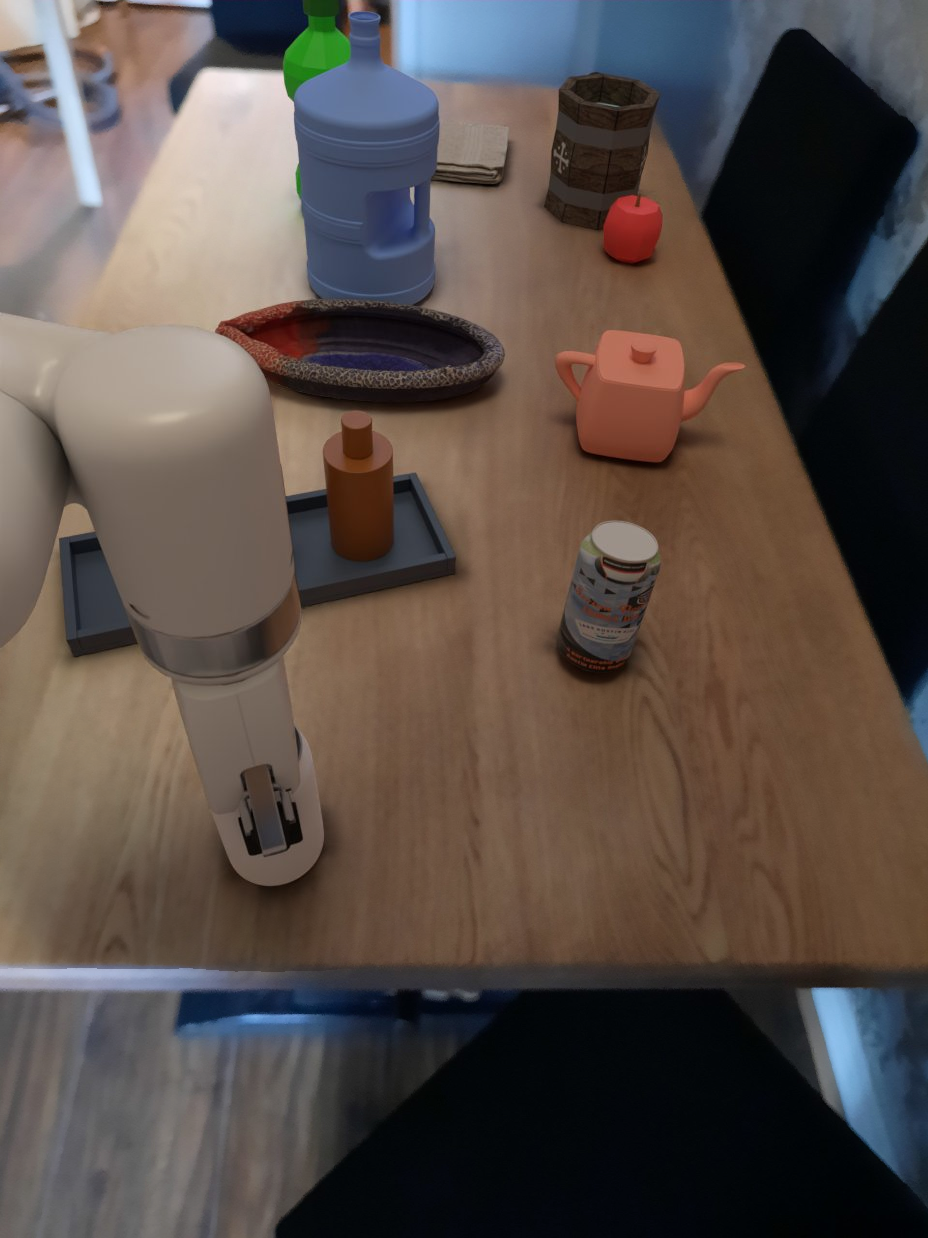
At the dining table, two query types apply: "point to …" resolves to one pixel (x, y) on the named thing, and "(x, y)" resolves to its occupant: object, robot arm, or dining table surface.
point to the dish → (367, 349)
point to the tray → (319, 567)
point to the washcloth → (471, 153)
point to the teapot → (635, 394)
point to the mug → (598, 146)
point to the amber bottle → (359, 489)
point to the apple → (632, 228)
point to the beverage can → (608, 596)
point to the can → (298, 855)
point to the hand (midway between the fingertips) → (263, 791)
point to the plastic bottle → (315, 50)
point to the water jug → (367, 175)
